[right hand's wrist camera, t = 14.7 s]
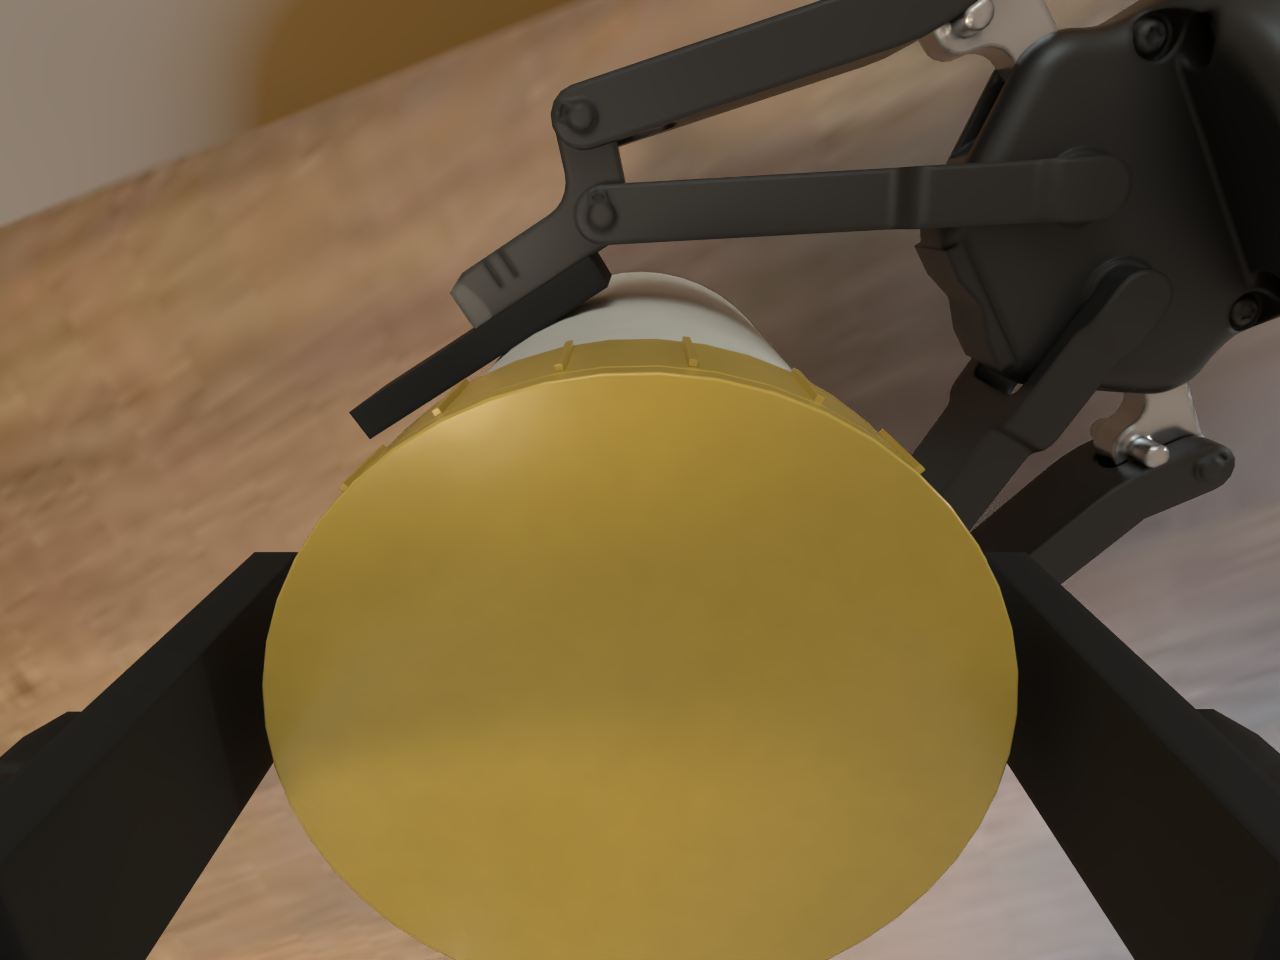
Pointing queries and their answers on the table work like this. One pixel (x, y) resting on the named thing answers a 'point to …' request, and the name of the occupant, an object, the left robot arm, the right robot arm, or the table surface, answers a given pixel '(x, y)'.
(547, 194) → the table surface
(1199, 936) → the right robot arm
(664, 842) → the lid
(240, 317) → the table surface
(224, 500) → the table surface
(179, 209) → the table surface
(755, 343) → the jar
